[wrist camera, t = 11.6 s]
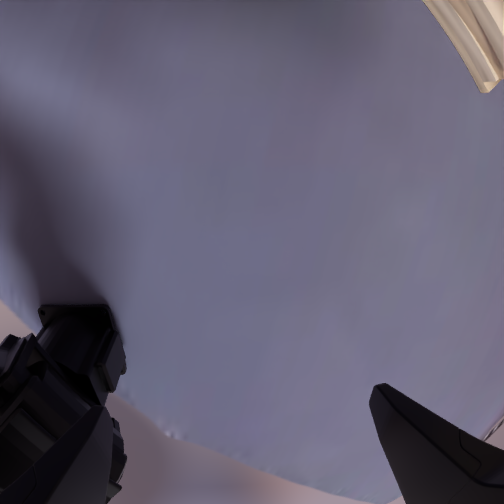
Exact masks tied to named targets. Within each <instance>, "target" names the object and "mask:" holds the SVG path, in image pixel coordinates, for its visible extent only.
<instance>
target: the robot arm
mask: <svg viewBox="0 0 504 504" xmlns="http://www.w3.org/2000/svg"><path fill="white" fill-rule="evenodd" d="M43 310H44V311H45V313H44V312H43ZM101 310H104V311H105V312H106V313H103V312H102V311H101ZM38 314H39V317H40V320H41V323H42V325H43V328H42V329H41V330H40V332H39V333H38V335H37V336H36V337H35V336H34V334H33V333H31V334H29V335H28V336H26V337H23V338H20V337H16V336H14V335H11V334H9V335H8V336H7V337H6V338H5V339H4V340H3V341H2V343H1V344H0V504H107V503H108V502H109V501H110V499H111V498H112V497H114V496H115V495H116V494H117V493H118V492H119V491H120V490H121V489H122V487H121V485H119V484H118V482H119V481H120V479H121V477H122V475H123V472H124V469H125V466H126V462H127V456H126V454H124V443H123V438H122V437H121V434H120V427H119V422H118V421H117V420H115V419H114V418H111V417H110V414H109V412H108V410H107V408H106V407H105V402H106V399H107V396H108V393H113V392H114V391H115V390H116V386H117V383H118V380H119V377H120V375H123V374H125V372H126V369H127V367H126V364H125V358H126V356H125V353H124V349H123V346H122V342H121V339H120V335H119V332H118V331H117V330H115V326H114V323H113V319H112V315H111V311H110V308H109V307H108V306H107V305H104V304H91V305H41V306H40V307H39V309H38ZM369 406H370V410H371V413H372V417H373V420H374V423H375V427H376V430H377V433H378V437H379V440H380V443H381V445H382V448H383V450H384V452H385V455H386V457H387V459H388V462H389V464H390V466H391V469H392V471H393V474H394V476H395V478H396V481H397V483H398V486H399V488H400V490H401V493H402V495H403V498H404V500H405V503H406V504H504V450H502V449H499V448H497V447H494V446H492V445H490V444H488V443H486V442H484V441H482V440H480V439H477V438H476V437H474V436H472V435H470V434H468V433H467V432H465V431H463V430H462V429H459V428H458V427H456V426H455V425H453V424H451V423H450V422H448V421H446V420H445V419H443V418H441V417H440V416H438V415H436V414H435V413H433V412H432V411H430V410H428V409H427V408H425V407H423V406H422V405H420V404H419V403H417V402H415V401H414V400H412V399H411V398H409V397H407V396H406V395H404V394H403V393H401V392H399V391H398V390H396V389H395V388H393V387H391V386H390V385H388V384H386V383H382V384H378V385H375V386H374V388H373V391H372V394H371V397H370V400H369Z"/></svg>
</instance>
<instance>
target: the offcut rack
mask: <svg viewBox="0 0 504 504" xmlns="http://www.w3.org/2000/svg"><path fill="white" fill-rule="evenodd" d="M422 1H423V2H424V3H425V5H426V6H427V7H428V9H429V10H430V11H431V13H432V14H433V15H434V17H435V18H436V19H437V21H438V22H439V24H440V25H441V27H442V28H443V29H444V31H445V32H446V34H447V35H448V37H449V38H450V40H451V42H452V43H453V45H454V46H455V48H456V49H457V51H458V53H459V54H460V56H461V58H462V59H463V61H464V63H465V64H466V66H467V68H468V70H469V72H470V73H471V75H472V77H473V79H474V81H475V83H476V84H477V86H478V88H479V90H480V92H481V93H489V92H490V91H491V90H492V89H493V88H494V87H495V86H496V85H497V83H498V82H499V81H500V80H501V79H504V0H422Z"/></svg>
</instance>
